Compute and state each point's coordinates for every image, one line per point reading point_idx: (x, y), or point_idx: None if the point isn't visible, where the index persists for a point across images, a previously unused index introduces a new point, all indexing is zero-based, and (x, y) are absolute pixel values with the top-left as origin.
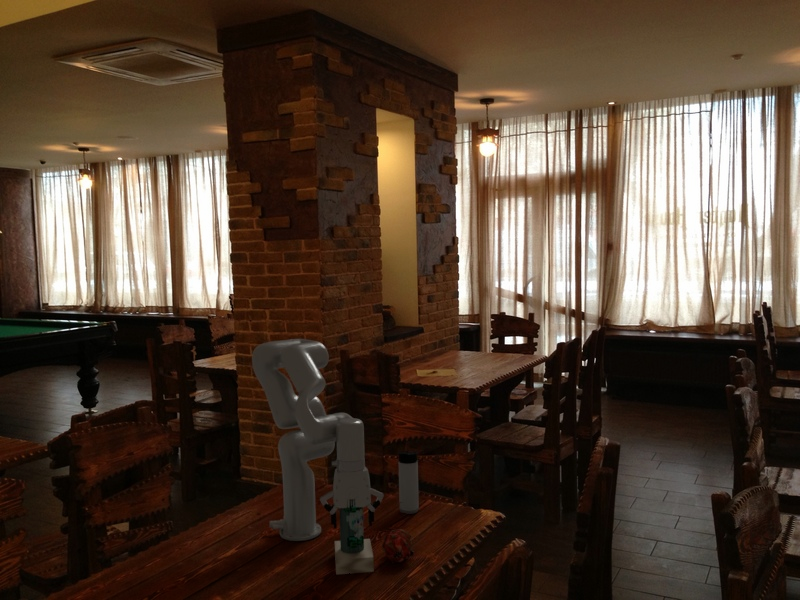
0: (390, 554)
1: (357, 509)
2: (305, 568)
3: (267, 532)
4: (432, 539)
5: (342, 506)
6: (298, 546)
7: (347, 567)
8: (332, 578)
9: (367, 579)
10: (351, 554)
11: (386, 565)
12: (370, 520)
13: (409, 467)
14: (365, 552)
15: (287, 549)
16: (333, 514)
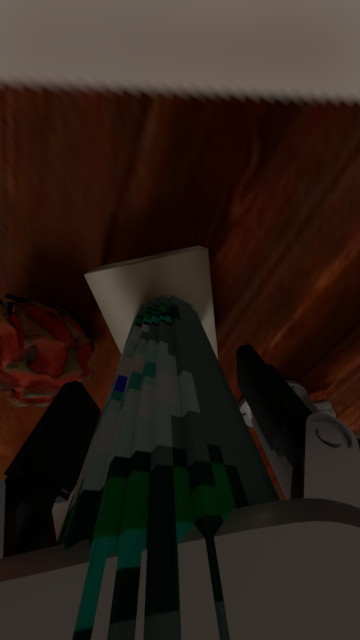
0: (53, 315)
1: (87, 503)
2: (272, 278)
3: (319, 398)
4: (28, 407)
5: (298, 561)
6: (277, 364)
7: (169, 253)
8: (205, 221)
9: (104, 215)
10: (162, 291)
11: (79, 301)
12: (53, 407)
13: None
14: (121, 306)
15: (297, 353)
16: (296, 418)
